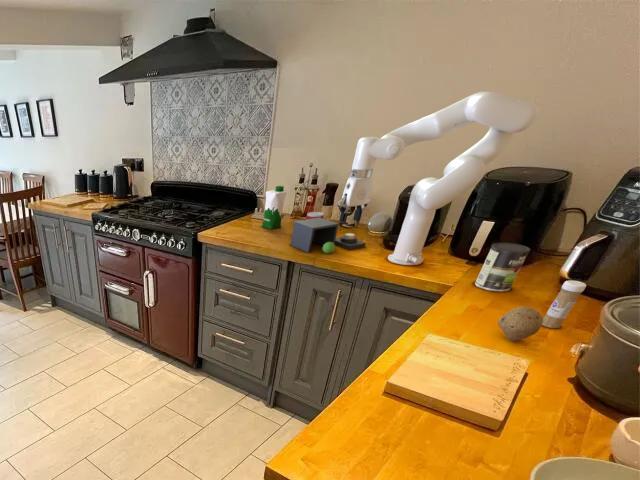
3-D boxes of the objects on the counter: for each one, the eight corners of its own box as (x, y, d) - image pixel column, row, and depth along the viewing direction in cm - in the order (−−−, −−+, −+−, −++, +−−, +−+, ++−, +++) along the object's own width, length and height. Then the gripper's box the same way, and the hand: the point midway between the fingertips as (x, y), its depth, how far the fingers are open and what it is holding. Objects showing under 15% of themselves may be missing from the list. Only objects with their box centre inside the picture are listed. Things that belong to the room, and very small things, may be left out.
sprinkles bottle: (536, 322, 125) (560, 280, 117) (550, 321, 125) (575, 279, 117) (550, 329, 121) (576, 286, 113) (564, 328, 121) (591, 285, 114)
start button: (355, 238, 190) (356, 234, 189) (348, 240, 189) (349, 236, 188) (349, 236, 193) (350, 232, 192) (342, 237, 192) (343, 234, 191)
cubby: (333, 248, 191) (339, 223, 184) (307, 252, 187) (312, 227, 181) (314, 240, 201) (319, 217, 194) (290, 245, 198) (294, 221, 191)
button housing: (364, 247, 189) (366, 239, 187) (348, 249, 187) (350, 242, 185) (345, 240, 199) (347, 233, 197) (330, 243, 197) (332, 235, 195)
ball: (335, 254, 184) (338, 243, 181) (324, 255, 183) (327, 244, 181) (330, 251, 188) (332, 240, 185) (319, 251, 188) (322, 240, 185)
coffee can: (517, 289, 145) (538, 249, 136) (494, 293, 143) (514, 253, 135) (489, 279, 153) (507, 240, 145) (467, 283, 151) (484, 244, 143)
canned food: (316, 233, 210) (321, 211, 203) (321, 238, 203) (326, 215, 197) (301, 234, 211) (305, 211, 204) (305, 238, 204) (309, 215, 198)
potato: (484, 336, 120) (500, 304, 114) (503, 329, 123) (520, 298, 117) (519, 350, 113) (538, 317, 108) (538, 342, 116) (558, 310, 110)
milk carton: (283, 227, 223) (289, 187, 212) (270, 230, 220) (276, 189, 208) (271, 223, 229) (277, 184, 218) (259, 226, 226) (264, 187, 215)
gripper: (349, 177, 155) (338, 226, 165) (386, 172, 159) (373, 220, 169) (335, 174, 161) (325, 222, 171) (371, 170, 165) (359, 216, 175)
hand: (349, 221), depth 170 cm, fingers open, 6 cm apart
